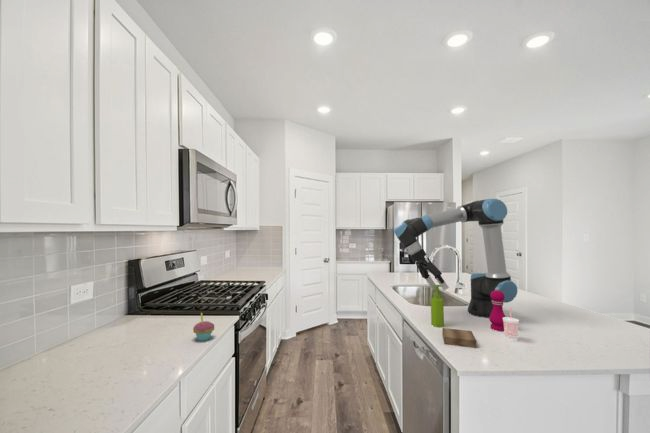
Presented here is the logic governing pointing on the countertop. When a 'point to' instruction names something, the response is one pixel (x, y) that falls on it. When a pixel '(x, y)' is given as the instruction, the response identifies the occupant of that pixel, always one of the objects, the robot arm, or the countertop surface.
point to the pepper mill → (497, 310)
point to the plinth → (458, 337)
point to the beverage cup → (511, 328)
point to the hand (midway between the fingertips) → (440, 289)
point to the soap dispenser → (437, 308)
